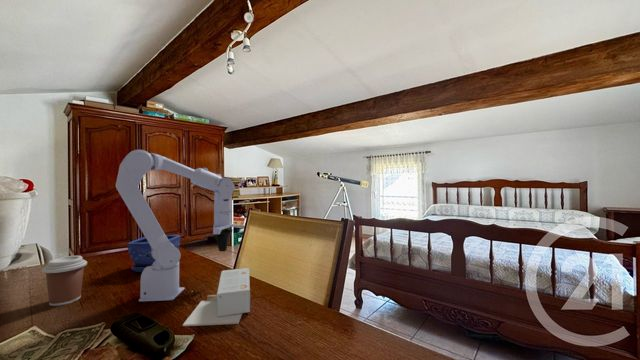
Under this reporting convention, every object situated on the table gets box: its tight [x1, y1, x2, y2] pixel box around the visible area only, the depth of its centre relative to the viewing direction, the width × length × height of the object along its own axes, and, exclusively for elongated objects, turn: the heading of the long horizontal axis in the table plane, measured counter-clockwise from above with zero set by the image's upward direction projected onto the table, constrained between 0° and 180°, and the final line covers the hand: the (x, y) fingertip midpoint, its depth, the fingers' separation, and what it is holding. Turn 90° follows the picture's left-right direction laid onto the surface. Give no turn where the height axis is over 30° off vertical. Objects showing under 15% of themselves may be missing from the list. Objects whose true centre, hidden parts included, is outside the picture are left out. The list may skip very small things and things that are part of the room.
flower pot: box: [127, 234, 181, 273], centre depth 100 cm, size 13×13×12 cm
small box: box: [216, 267, 251, 317], centre depth 70 cm, size 8×6×13 cm
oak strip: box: [206, 294, 217, 301], centre depth 73 cm, size 12×1×2 cm, turn 96°
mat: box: [182, 300, 244, 327], centre depth 67 cm, size 13×12×1 cm
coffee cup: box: [41, 255, 88, 307], centre depth 73 cm, size 9×9×12 cm
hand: (222, 250), depth 88 cm, fingers closed
